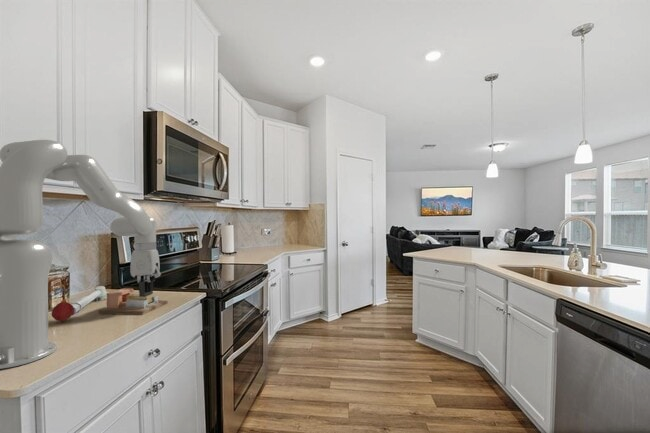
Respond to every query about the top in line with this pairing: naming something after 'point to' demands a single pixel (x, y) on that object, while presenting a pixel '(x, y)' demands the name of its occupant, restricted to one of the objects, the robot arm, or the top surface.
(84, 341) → the top surface
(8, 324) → the robot arm
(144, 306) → the guide sleeve
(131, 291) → the socket block
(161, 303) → the base board
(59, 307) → the onion
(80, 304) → the white rod
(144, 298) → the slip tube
